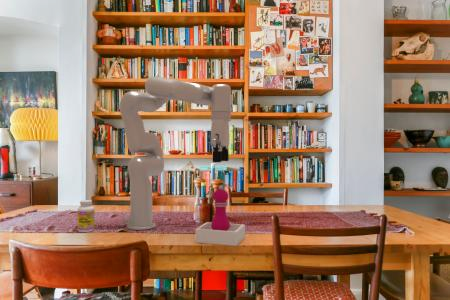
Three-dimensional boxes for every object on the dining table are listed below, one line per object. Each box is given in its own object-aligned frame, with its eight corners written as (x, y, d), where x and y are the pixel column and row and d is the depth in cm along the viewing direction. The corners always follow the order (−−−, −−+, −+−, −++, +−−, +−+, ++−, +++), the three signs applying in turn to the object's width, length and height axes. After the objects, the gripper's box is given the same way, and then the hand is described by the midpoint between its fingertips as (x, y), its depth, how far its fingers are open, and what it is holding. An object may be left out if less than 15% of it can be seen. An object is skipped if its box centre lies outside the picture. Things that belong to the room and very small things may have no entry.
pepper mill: (227, 239, 136) (228, 186, 135) (209, 238, 137) (209, 186, 137) (231, 235, 143) (231, 184, 142) (213, 234, 144) (213, 184, 144)
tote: (195, 242, 136) (195, 229, 136) (206, 234, 148) (206, 222, 148) (236, 246, 131) (236, 232, 131) (244, 237, 144) (244, 224, 144)
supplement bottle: (76, 233, 150) (76, 202, 149) (79, 229, 156) (79, 199, 156) (93, 232, 151) (93, 201, 151) (95, 228, 157) (95, 199, 157)
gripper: (218, 118, 148) (218, 160, 149) (204, 115, 132) (204, 162, 132) (236, 118, 146) (236, 160, 146) (223, 115, 130) (223, 162, 130)
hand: (220, 161), depth 139 cm, fingers open, 9 cm apart
